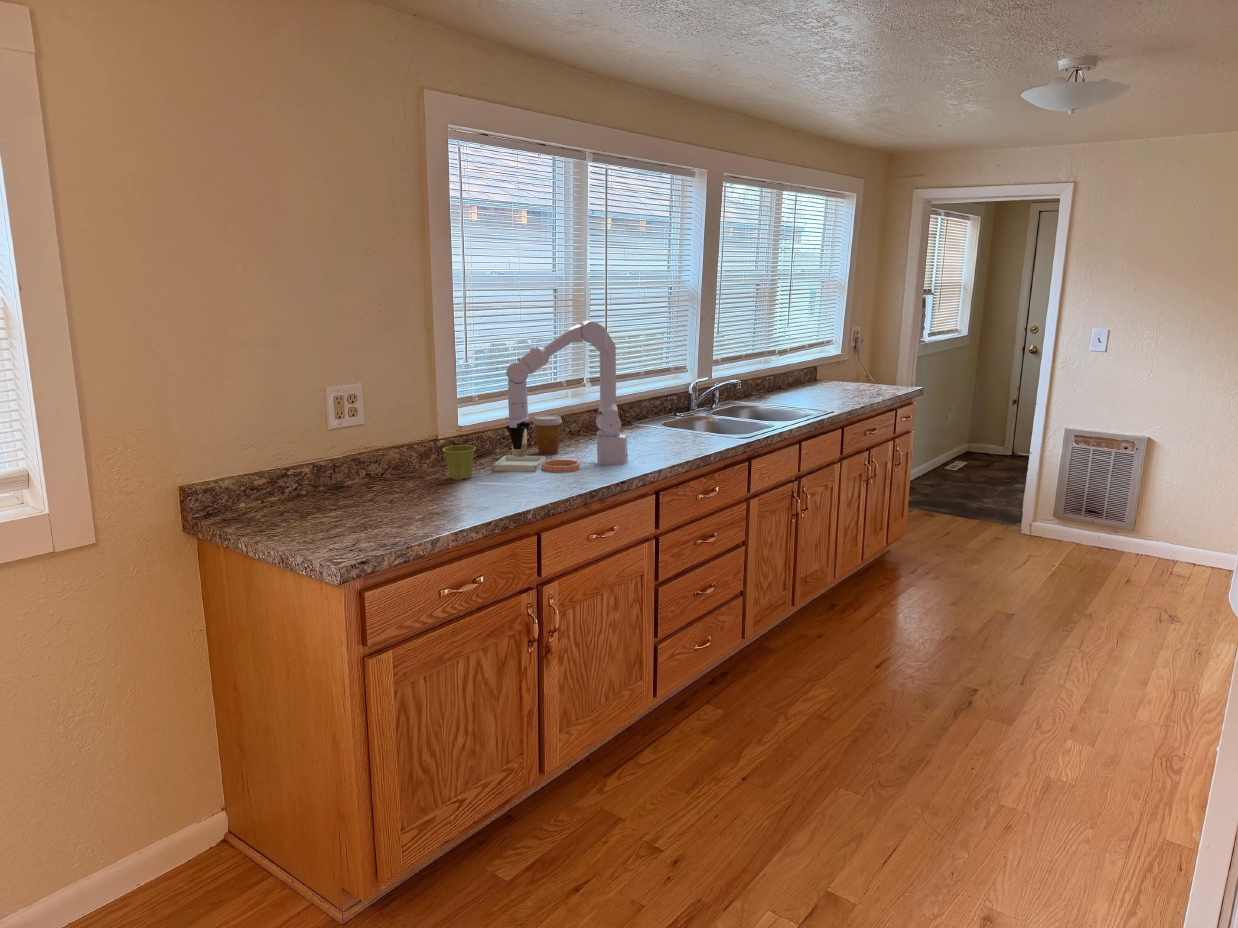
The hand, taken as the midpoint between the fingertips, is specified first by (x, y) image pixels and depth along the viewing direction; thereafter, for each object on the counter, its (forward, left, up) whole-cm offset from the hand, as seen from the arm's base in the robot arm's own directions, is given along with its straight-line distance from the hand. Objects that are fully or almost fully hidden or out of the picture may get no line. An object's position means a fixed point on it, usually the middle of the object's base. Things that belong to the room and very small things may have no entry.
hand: (519, 447), depth 258 cm
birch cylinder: (0, 0, -2) cm, 2 cm away
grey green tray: (0, 0, -6) cm, 6 cm away
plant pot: (+14, +15, -6) cm, 21 cm away
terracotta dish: (-13, +2, -6) cm, 15 cm away
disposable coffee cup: (-4, -23, -6) cm, 24 cm away
